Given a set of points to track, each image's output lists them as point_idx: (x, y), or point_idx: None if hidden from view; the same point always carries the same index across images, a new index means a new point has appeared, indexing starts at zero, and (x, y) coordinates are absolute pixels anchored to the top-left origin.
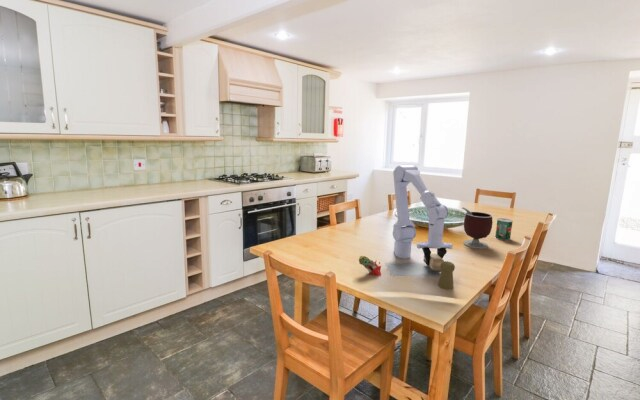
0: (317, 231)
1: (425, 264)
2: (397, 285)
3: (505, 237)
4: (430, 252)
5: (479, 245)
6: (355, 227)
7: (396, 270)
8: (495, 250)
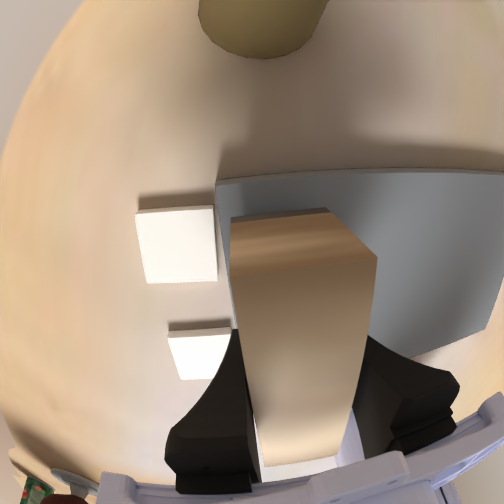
0: None
1: None
2: (499, 97)
3: (32, 482)
4: (403, 389)
5: (67, 478)
6: None
7: (488, 249)
8: (30, 454)
